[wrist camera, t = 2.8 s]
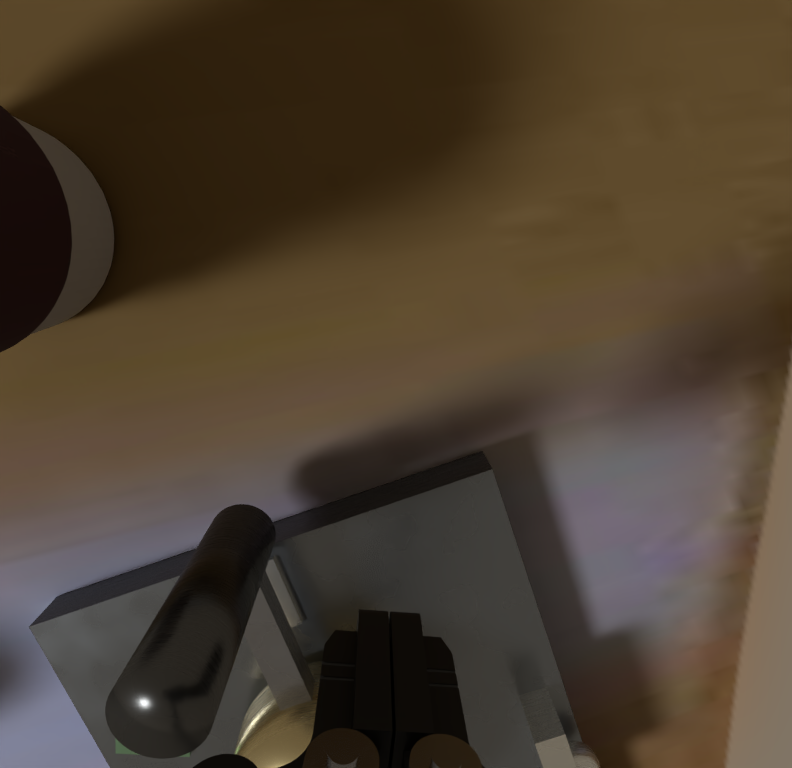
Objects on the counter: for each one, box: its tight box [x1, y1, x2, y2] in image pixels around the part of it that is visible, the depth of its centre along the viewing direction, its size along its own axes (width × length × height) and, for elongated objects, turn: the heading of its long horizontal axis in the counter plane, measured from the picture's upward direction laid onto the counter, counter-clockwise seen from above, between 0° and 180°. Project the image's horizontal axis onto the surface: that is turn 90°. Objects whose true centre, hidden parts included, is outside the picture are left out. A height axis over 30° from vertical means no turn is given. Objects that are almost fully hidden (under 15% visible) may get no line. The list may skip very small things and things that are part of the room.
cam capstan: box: [105, 504, 322, 768], centre depth 18 cm, size 15×8×8 cm, turn 19°
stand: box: [29, 451, 600, 768], centre depth 24 cm, size 20×19×4 cm
